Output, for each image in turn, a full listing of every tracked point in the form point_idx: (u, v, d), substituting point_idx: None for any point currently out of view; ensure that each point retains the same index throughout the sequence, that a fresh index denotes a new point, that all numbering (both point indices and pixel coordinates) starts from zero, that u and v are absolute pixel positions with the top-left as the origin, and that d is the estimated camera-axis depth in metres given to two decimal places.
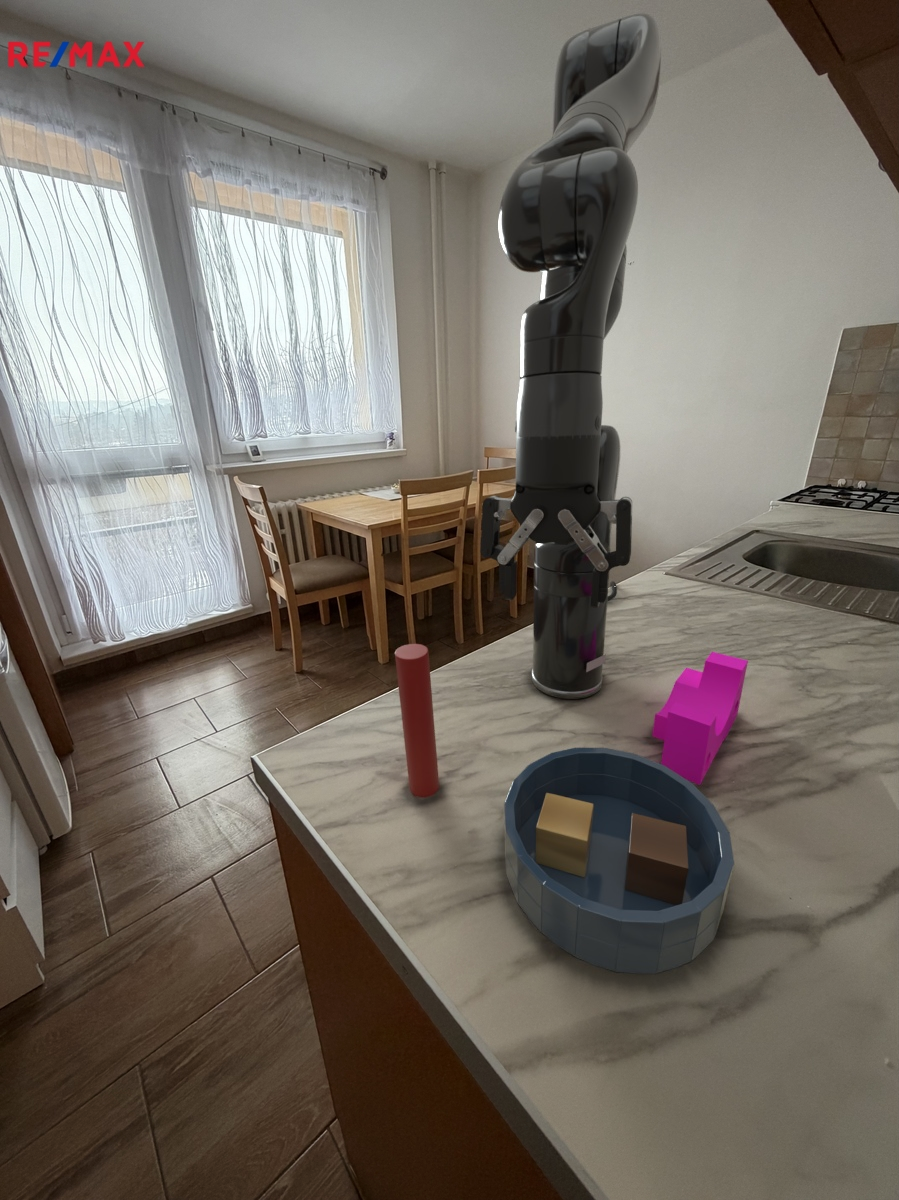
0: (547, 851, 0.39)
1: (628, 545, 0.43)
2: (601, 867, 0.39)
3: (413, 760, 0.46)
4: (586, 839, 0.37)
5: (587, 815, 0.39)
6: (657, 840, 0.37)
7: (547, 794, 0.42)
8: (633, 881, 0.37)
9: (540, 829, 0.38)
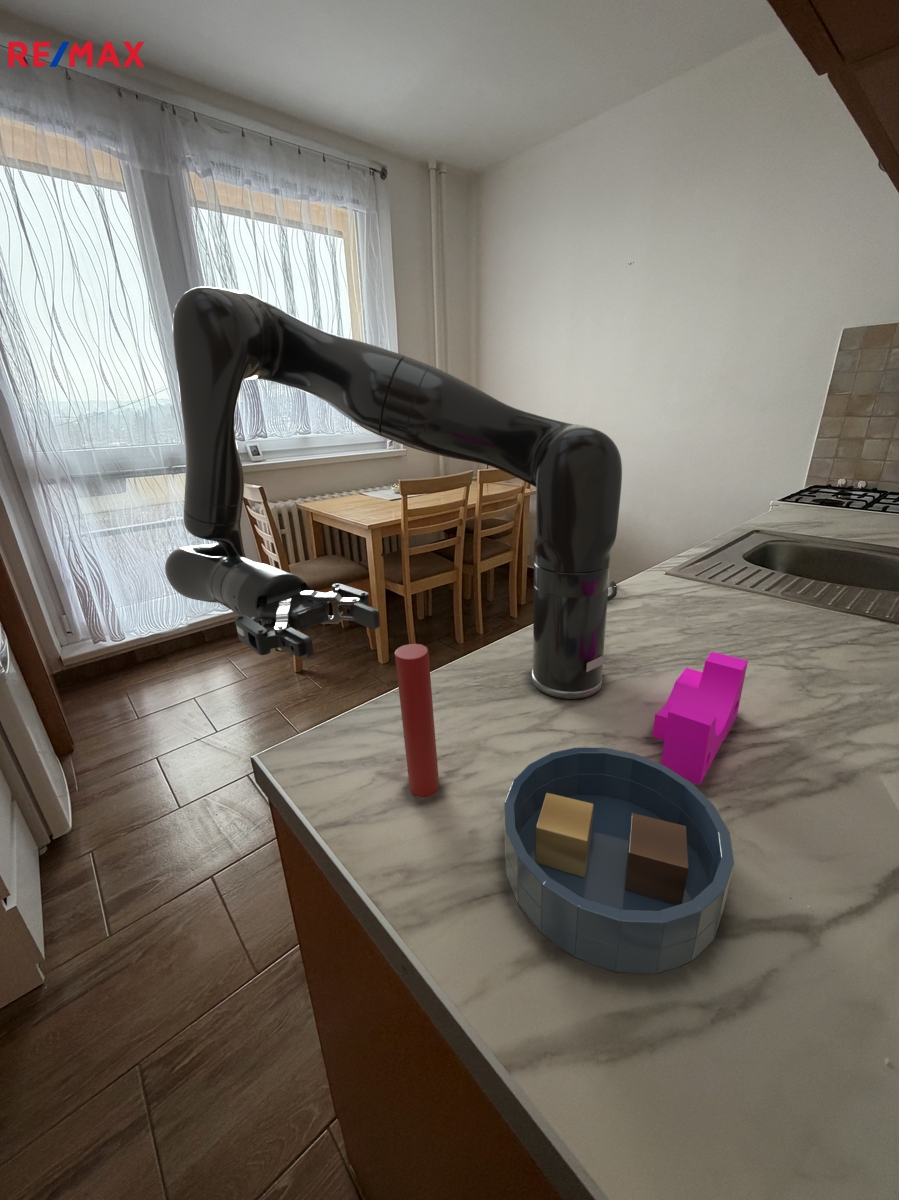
0: (547, 851, 0.39)
1: (254, 649, 0.50)
2: (601, 867, 0.39)
3: (413, 760, 0.46)
4: (586, 839, 0.37)
5: (587, 815, 0.39)
6: (657, 840, 0.37)
7: (547, 794, 0.42)
8: (633, 881, 0.37)
9: (540, 829, 0.38)
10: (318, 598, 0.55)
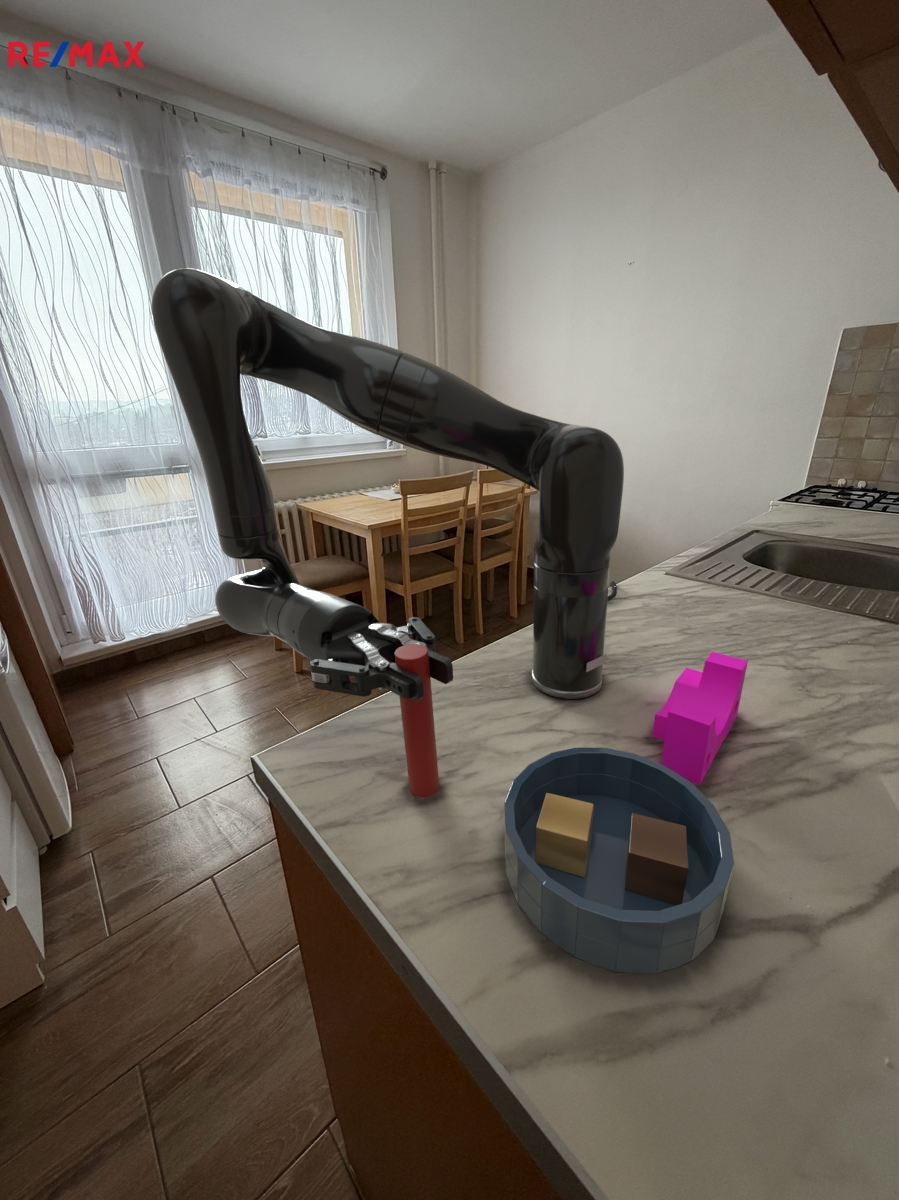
0: (547, 851, 0.39)
1: (350, 693, 0.43)
2: (601, 867, 0.39)
3: (413, 760, 0.46)
4: (586, 839, 0.37)
5: (587, 815, 0.39)
6: (657, 840, 0.37)
7: (547, 794, 0.42)
8: (633, 881, 0.37)
9: (540, 829, 0.38)
10: (383, 636, 0.47)
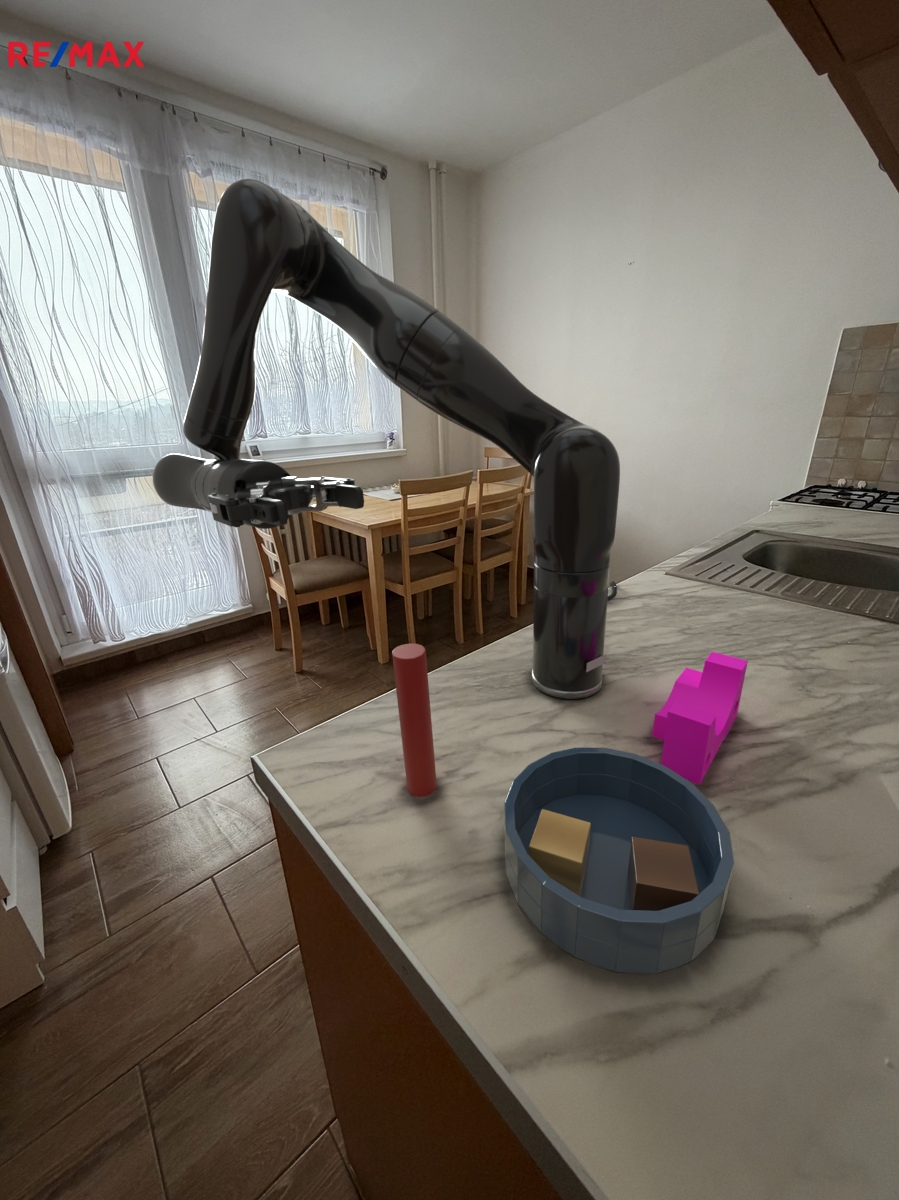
0: None
1: None
2: (601, 867, 0.39)
3: (410, 759, 0.46)
4: (581, 861, 0.35)
5: (583, 835, 0.37)
6: (662, 865, 0.35)
7: (543, 811, 0.40)
8: None
9: (533, 848, 0.37)
10: (299, 482, 0.51)
